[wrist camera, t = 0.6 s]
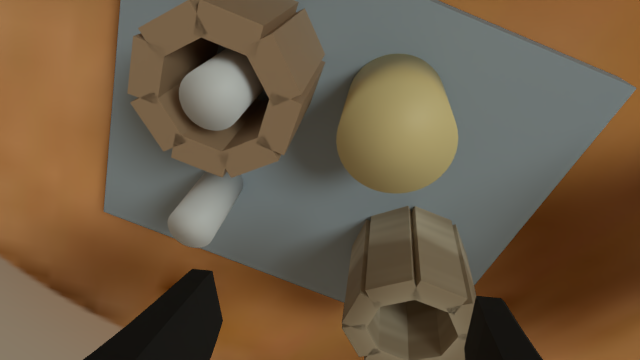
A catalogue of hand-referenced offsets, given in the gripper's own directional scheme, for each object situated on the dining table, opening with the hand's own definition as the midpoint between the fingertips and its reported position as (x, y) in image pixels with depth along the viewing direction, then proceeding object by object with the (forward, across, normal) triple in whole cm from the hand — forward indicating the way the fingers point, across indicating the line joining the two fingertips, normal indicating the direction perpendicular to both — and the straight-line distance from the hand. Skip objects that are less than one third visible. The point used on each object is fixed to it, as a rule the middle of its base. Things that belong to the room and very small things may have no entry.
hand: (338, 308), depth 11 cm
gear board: (+10, +2, 0) cm, 10 cm away
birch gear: (+9, -2, +5) cm, 10 cm away
